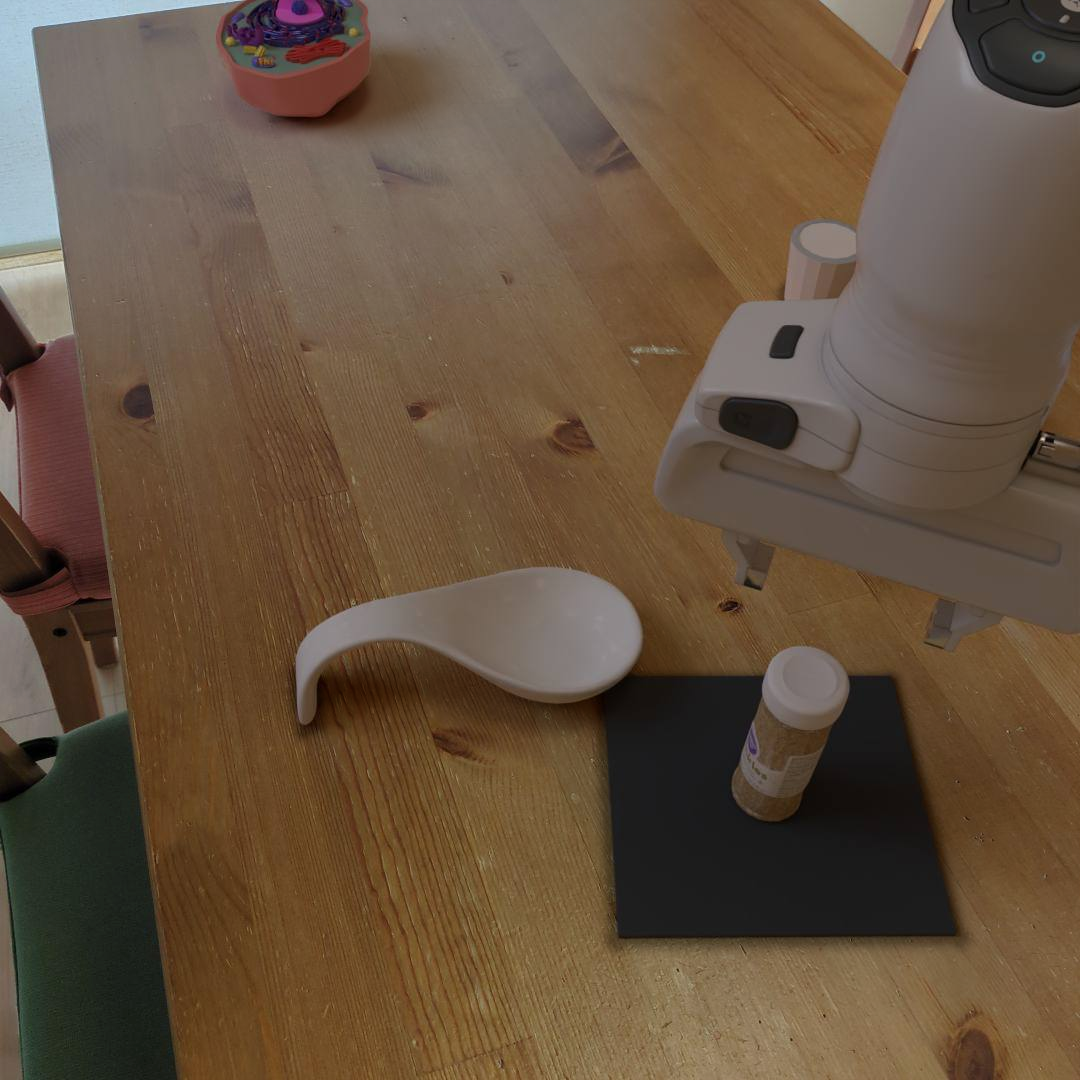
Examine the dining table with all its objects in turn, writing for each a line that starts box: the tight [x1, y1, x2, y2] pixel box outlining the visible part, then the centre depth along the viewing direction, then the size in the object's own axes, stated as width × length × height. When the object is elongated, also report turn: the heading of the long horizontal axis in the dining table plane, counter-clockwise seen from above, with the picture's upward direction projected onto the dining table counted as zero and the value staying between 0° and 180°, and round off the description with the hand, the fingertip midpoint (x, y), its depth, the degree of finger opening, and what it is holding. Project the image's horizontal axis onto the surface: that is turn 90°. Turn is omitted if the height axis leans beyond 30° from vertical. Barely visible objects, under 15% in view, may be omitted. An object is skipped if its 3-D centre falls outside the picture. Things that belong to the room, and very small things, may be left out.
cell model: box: [215, 0, 372, 118], centre depth 122 cm, size 17×20×11 cm
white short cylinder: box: [784, 218, 857, 300], centre depth 102 cm, size 7×7×7 cm
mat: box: [603, 675, 958, 939], centre depth 71 cm, size 20×18×1 cm
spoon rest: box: [295, 566, 644, 726], centre depth 74 cm, size 24×12×7 cm, turn 102°
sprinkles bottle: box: [732, 645, 850, 822], centre depth 66 cm, size 5×5×13 cm
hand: (843, 607), depth 55 cm, fingers open, 8 cm apart
